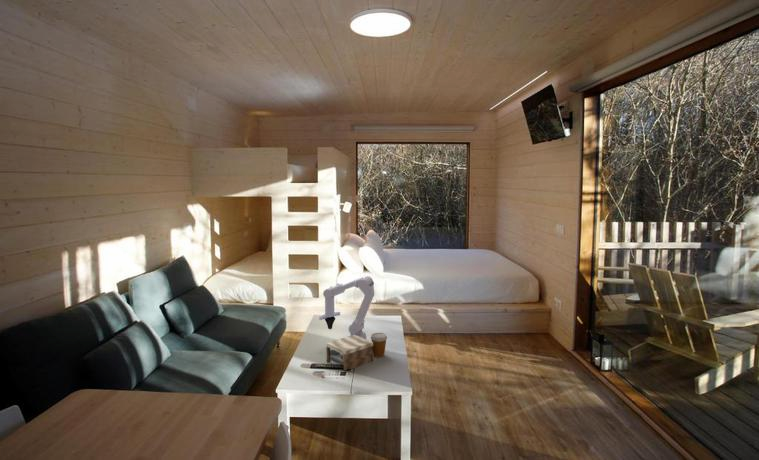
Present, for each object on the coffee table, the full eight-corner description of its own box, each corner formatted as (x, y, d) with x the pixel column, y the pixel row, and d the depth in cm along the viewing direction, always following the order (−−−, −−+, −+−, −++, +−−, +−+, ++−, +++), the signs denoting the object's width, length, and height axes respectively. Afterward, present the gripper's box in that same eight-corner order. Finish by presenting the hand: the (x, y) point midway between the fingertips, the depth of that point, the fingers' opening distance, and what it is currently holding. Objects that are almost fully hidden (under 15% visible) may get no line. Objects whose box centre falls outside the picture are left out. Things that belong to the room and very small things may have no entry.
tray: (344, 352, 264) (344, 342, 263) (363, 362, 250) (363, 351, 250) (328, 357, 256) (328, 347, 256) (348, 367, 243) (348, 356, 242)
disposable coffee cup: (385, 359, 254) (385, 338, 253) (369, 357, 256) (369, 337, 255) (388, 352, 264) (388, 333, 262) (372, 351, 266) (372, 331, 264)
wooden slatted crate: (354, 352, 264) (354, 334, 263) (373, 361, 252) (373, 342, 250) (326, 361, 250) (326, 342, 249) (344, 371, 238) (344, 351, 237)
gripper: (335, 303, 283) (335, 324, 285) (316, 308, 274) (316, 329, 275) (342, 306, 278) (342, 327, 280) (322, 310, 268) (323, 332, 270)
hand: (329, 328), depth 277 cm, fingers closed
